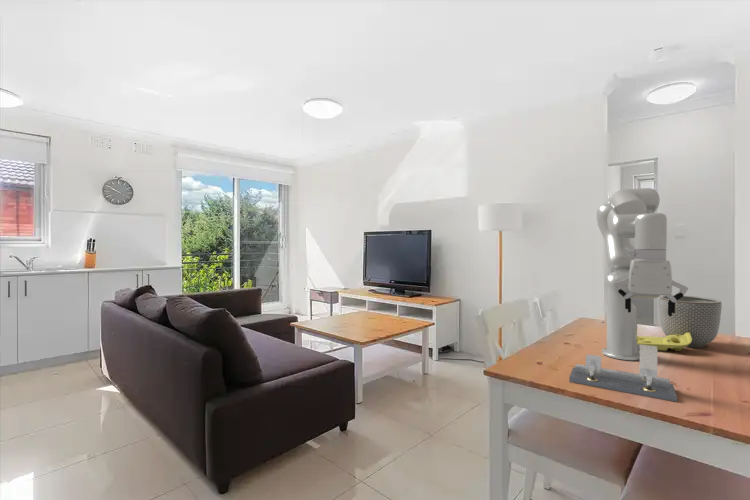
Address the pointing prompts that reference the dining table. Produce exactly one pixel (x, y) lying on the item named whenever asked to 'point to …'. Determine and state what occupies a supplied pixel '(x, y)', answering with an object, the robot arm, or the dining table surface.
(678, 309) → the planter
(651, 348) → the grey block with peg
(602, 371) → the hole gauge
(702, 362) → the dining table surface
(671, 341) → the plastic component
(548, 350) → the dining table surface
